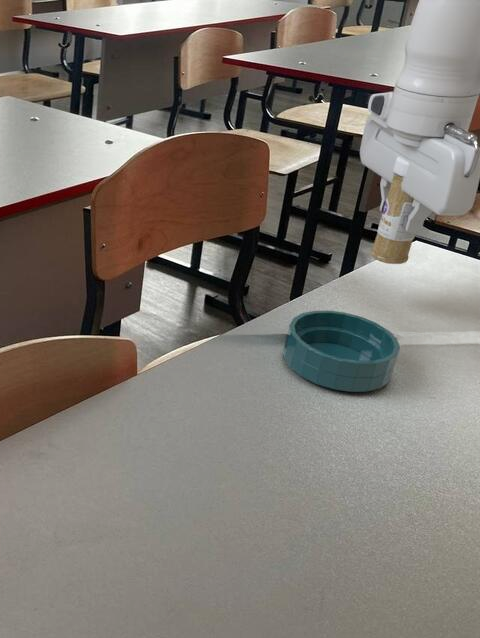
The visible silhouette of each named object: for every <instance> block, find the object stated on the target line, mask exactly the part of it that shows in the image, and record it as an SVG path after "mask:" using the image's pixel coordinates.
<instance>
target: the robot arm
mask: <svg viewBox="0 0 480 638" xmlns="http://www.w3.org/2000/svg"><path fill="white" fill-rule="evenodd" d="M404 53H405V57H404V63H403V67H402V69H401V71H400V73H399V75H398V76H397V79H396V81H395V84H394V87H393V91H387V92H381V93H373V94H371V96H370V97H369V100H368V105H367V110H368V112H369V113H370V114H369V116H368V117H367V118H366V121H365V125H364V128H363V133H362V138H361V142H360V148H359V157H360V163H361V165H363V166H365V167H366V168H368V169H369V170H371V171H372V172H374V173H375V174H377V175H378V176H380V177H381V179H380V183H379V186H380V195H381V201H380V206H379V212H380V213H382V214H383V210H384V206H385V203H386V199H387V198H388V194H389V191H390V186H391V183H392V179H393V176H394V174H393V173H394V171H393V169H394V165H395V162H396V159H397V157H401V158H402V159H404V160H405V161H407V162H408V163H409V167H408V170H407V173H406V177H403V179H404V180H403V181H402V183H401V190H402V191H403V192H405V193H406V194H408V195H409V196H411V197H412V198H414V200H413V204H412V206H413V207H415V208H414V209H413V211H412V212H411V214H410V215H409V216H404V219H403V223H402V228H403V229H405V230H406V231H407V232H409V233H416V234H418V233H420V232H422V229H423V227H424V222H425V220H427V219H428V218H429V216H431V214H432V213H435V214H436V215H438V216H443V217H444V216H446V217H447V216H451V217H453V216H463V215H466V214H467V213H468V212H469V211H470V210H471V209H472V208H473V206H474V203H475V199H476V196H477V192H478V188H479V184H480V145H479V142H478V136H477V135H476V134H474V133H473V132H471V131H469V128H470V125H471V123H472V119H473V116H474V112H475V109H476V106H477V103H478V100H479V96H480V0H418V2H417V5H416V8H415V11H414V14H413V17H412V20H411V24H410V27H409V30H408V34H407V38H406V40H405V47H404Z"/></svg>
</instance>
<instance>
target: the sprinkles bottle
mask: <svg viewBox="0 0 480 638" xmlns="http://www.w3.org/2000/svg"><path fill="white" fill-rule="evenodd" d="M408 167H409V163H408V162H407V161H405V160H404V159H402V158H401V157H397V159H396V162H395V165H394V169H393V171H394V173H393V174H394V176H393V179H392V183H391V186H390V191H389V194H388V198H387V199H386V203H385V206H384V210H383V213H382V214H381V218H380V220H379V224H378V228H377V233H376V236H375V240H374V243H373V247H372V248H371V250H370V256H371V257H372V258H373V259H375V261H378V262H380V263H384V264H387V265H389V264H390V265H402V264H406V263H407V262H408V260H409V253H410V251H411V249H412V248H411V247H412V245H413V241H414V239H415V237H416V234H417V233H409V232H407V231H406V230H405V229H403V228H402V223H403V219H404V216H409V215H410V214H411V212H412V211H413V209H414V208H415V207H413V206H412V204H413V200H414V198H412V197H411V196H409V195H408V194H406V193H405V192H403V191H402V190H401V183H402V181H403V180H404V179H403V177H406V173H407V170H408Z"/></svg>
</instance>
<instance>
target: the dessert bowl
mask: <svg viewBox="0 0 480 638" xmlns="http://www.w3.org/2000/svg"><path fill="white" fill-rule="evenodd" d="M288 325H289V326H288V330H287V334H286V338H285V342H284V346H283V349H282V353H283V359H284V361H285V362H286V364H287V365H288V367H289V368H290V369H291V370H293V371H294V372H295V373H296V374H298V375H299V376H300V377H302V378H303V379H306V380H307V381H309V382H311V383H313V384H315V385H318V386H321V387H323V388H326V389H331V390H334V391H340V392H347V393H348V392H349V393H350V392H351V393H353V392H354V393H355V392H356V393H357V392H358V393H361V392H362V393H363V392H370V391H374V390H379V389H381V388H383V387H384V386H386V385H387V384H388V383H389V382H390V379H391V376H392V375H393V370H394V368H395V364H396V361H397V359H398V356H399V353H400V350H401V345H400V343H399V341H398V339H397V337H396V336H395V335H394V334H393V333H392V332H391V331H390V330H388V329H387V328H385V327H384V326H382V325H381V324H379V323H377V322H375V321H374V320H370V319H367V318H365V317H363V316H359V315H357V314H352V313H348V312H346V311H345V312H343V311H337V310H328V309H327V310H311V311H307V312H306V311H305V312H302V313H300V314H298V315H296V316H294V317H293V318H292V320H291V322H290V323H289V324H288Z"/></svg>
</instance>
